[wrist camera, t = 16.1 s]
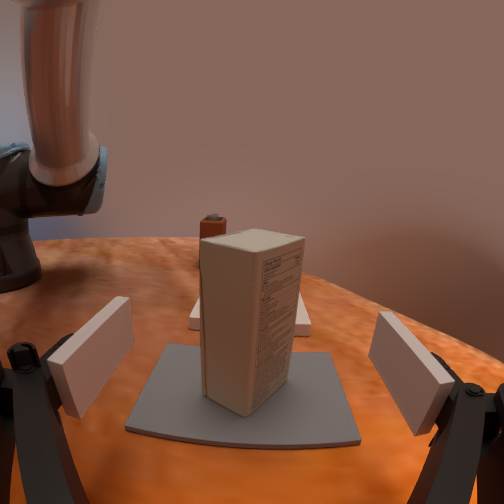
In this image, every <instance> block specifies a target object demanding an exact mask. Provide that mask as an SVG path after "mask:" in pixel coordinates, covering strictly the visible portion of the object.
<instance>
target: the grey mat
mask: <svg viewBox="0 0 504 504" xmlns="http://www.w3.org/2000/svg"><path fill="white" fill-rule="evenodd" d="M124 426H125V429H126V430H128V431H132V432H136V433H141V434H145V435H150V436H155V437H160V438H166V439H171V440H177V441H183V442H190V443H198V444H206V445H215V446H225V447H238V448H257V449H307V448H326V447H338V446H349V445H358V444H360V443H361V440H362V439H361V436H360V434H359V431H358V428H357V425H356V422H355V420H354V417H353V414H352V412H351V409H350V406H349V403H348V401H347V398H346V395H345V393H344V390H343V387H342V385H341V382H340V379H339V377H338V374H337V372H336V369H335V366H334V364H333V361H332V359H331V356H330V353H329V352H291V358H290V365H289V371H288V378H287V380H286V381H285V382H284V383H283V384H282V385H281V386H280V387H279V388H278V389H277V390H276V391H275V392H274V393H273V394H272V395H271V396H270V397H269V398H267V399H266V400H265V401H264V402H263V403H262V404H261V405H260V406H259V407H258V408H256V409H255V410H254V411H253V412H252V413H251V414H249V415H248V416H247V417H242V416H240V415H239V414H237V413H235V412H233V411H231V410H229V409H227V408H226V407H224V406H222V405H220V404H219V403H217V402H215V401H214V400H212V399H210V398H208V397H207V396H205V395H204V394H202V382H201V354H200V346H191V345H182V344H174V343H167V345H166V347H165V349H164V351H163V353H162V354H161V356H160V358H159V360H158V362H157V364H156V366H155V368H154V369H153V371H152V373H151V375H150V377H149V379H148V381H147V383H146V385H145V386H144V388H143V390H142V392H141V394H140V396H139V398H138V400H137V402H136V404H135V406H134V408H133V410H132V411H131V413H130V415H129V417H128V419H127V421H126V423H125V425H124Z"/></svg>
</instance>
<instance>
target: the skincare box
mask: <svg viewBox="0 0 504 504" xmlns="http://www.w3.org/2000/svg"><path fill="white" fill-rule="evenodd" d="M304 244H305V237H300V236H294V235H289V234H283V233H277V232H272V231H266V230H261V229H256V228H254V229H250V230H245V231H239V232H234V233H230V234H225V235H219V236H215V237H210V238H205V239H201V240H200V354H201V382H202V394H204V395H205V396H207V397H208V398H210V399H212V400H214V401H215V402H217V403H219V404H220V405H222V406H224V407H226V408H227V409H229V410H231V411H233V412H235V413H237V414H239V415H240V416H242V417H247V416H248V415H249V414H251V413H252V412H253V411H254V410H255V409H256V408H258V407H259V406H260V405H261V404H262V403H263V402H264V401H265V400H266V399H267V398H269V397H270V396H271V395H272V394H273V393H274V392H275V391H276V390H277V389H278V388H279V387H280V386H281V385H282V384H283V383H284V382H285V381H286V380H287V378H288V371H289V365H290V358H291V351H292V345H293V338H294V331H295V323H296V315H297V307H298V299H299V291H300V282H301V273H302V264H303V255H304Z"/></svg>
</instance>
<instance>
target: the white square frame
mask: <svg viewBox="0 0 504 504" xmlns="http://www.w3.org/2000/svg"><path fill="white" fill-rule="evenodd" d="M189 329H194V330H200V297H199V299H198V301H197V302H196V304H195V306H194V308H193V310H192V312H191V314H190V316H189ZM310 329H311V323H310V320H309V317H308V314H307V311H306V309H305V306H304V303H303V300H302V298H301V295H300V292H299V299H298V307H297V315H296V323H295V331H294V336H309V335H310Z"/></svg>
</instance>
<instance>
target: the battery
mask: <svg viewBox="0 0 504 504" xmlns="http://www.w3.org/2000/svg"><path fill="white" fill-rule="evenodd" d="M225 234H226V218H223V217H219V214H211V215H208V216H207V217H206V218H204V219H203V220H202V221H201V222H200V240H201V239H205V238H210V237H215V236H219V235H225ZM199 267H200V249H199Z"/></svg>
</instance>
